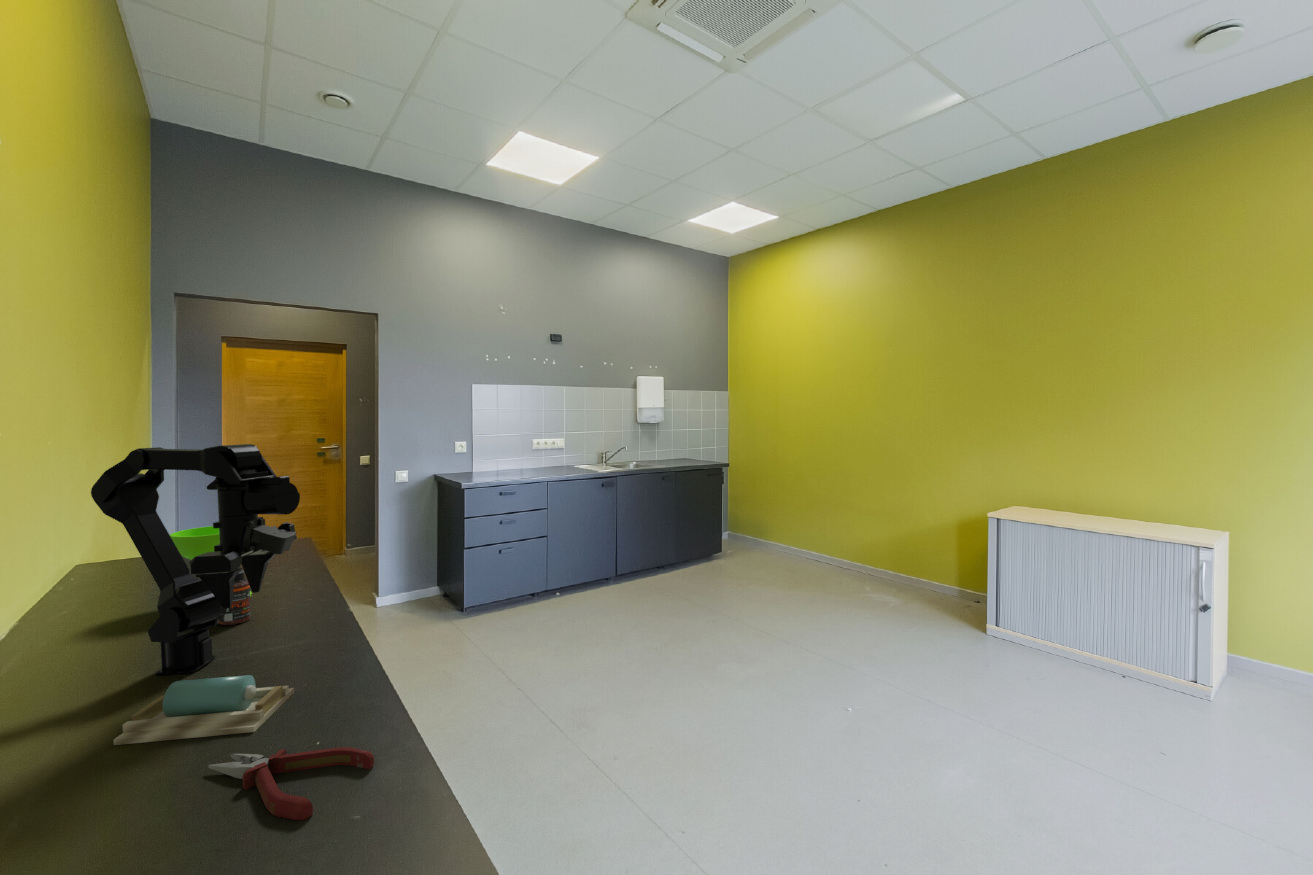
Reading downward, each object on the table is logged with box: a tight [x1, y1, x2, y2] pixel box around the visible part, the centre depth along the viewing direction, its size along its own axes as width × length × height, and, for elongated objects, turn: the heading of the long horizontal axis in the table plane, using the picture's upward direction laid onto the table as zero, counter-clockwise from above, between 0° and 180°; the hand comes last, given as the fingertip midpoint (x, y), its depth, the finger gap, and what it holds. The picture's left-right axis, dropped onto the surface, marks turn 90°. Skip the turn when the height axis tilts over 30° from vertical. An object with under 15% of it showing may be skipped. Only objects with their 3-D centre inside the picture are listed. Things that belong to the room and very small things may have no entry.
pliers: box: [207, 746, 375, 821], centre depth 71 cm, size 12×20×3 cm, turn 74°
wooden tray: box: [113, 685, 295, 746], centre depth 87 cm, size 18×12×3 cm, turn 99°
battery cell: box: [162, 674, 257, 717], centre depth 87 cm, size 11×5×5 cm, turn 99°
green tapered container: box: [169, 525, 253, 597], centre depth 145 cm, size 16×16×18 cm
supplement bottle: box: [218, 570, 252, 626], centre depth 129 cm, size 6×6×11 cm
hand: (242, 599), depth 102 cm, fingers open, 9 cm apart
